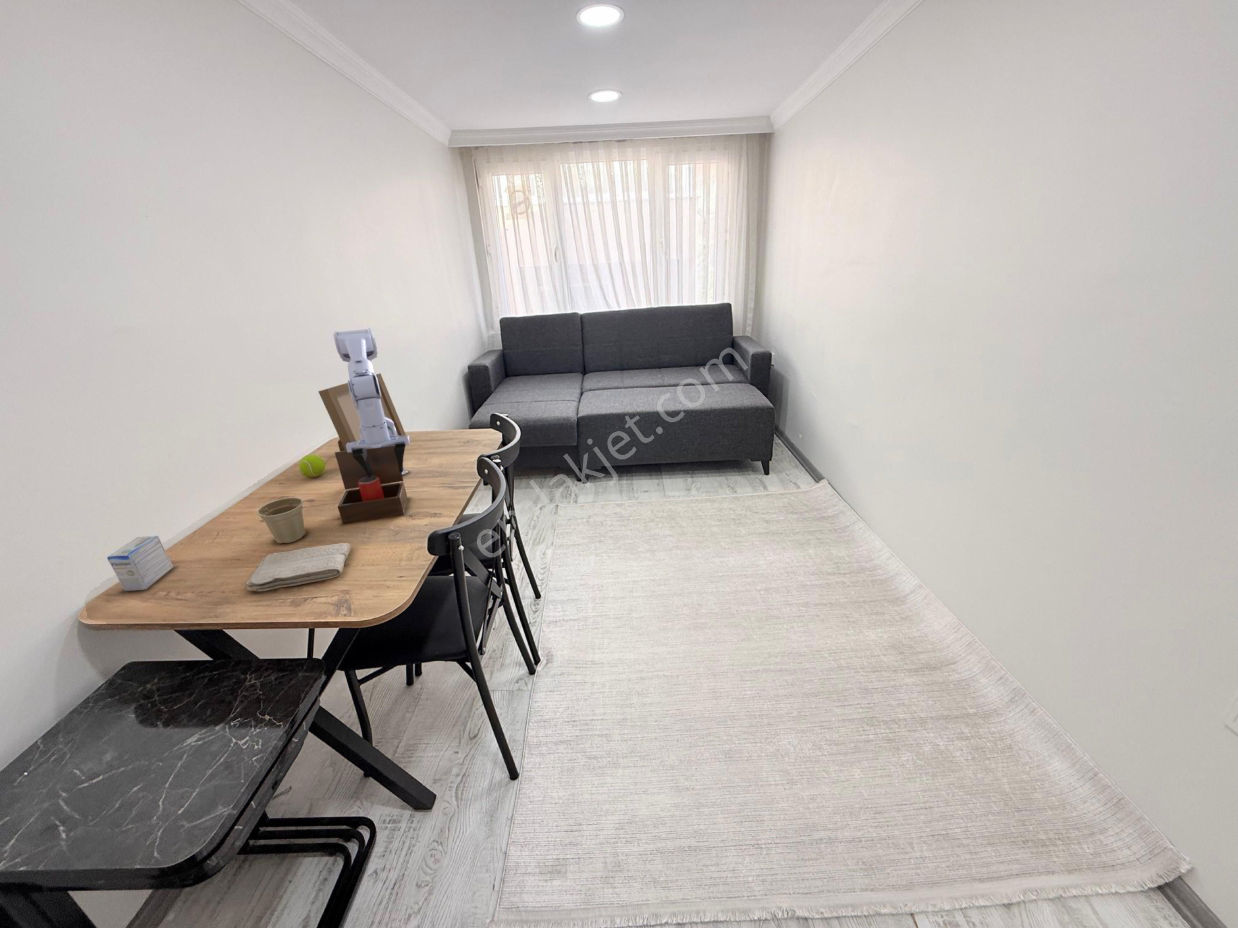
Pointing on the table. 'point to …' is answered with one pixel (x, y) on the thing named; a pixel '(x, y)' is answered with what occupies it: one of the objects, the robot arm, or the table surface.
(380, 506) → the storage box
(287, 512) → the flower pot
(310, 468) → the tennis ball
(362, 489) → the can
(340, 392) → the photo frame
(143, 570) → the medicine box
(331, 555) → the washcloth
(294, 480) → the table surface
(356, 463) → the lid
